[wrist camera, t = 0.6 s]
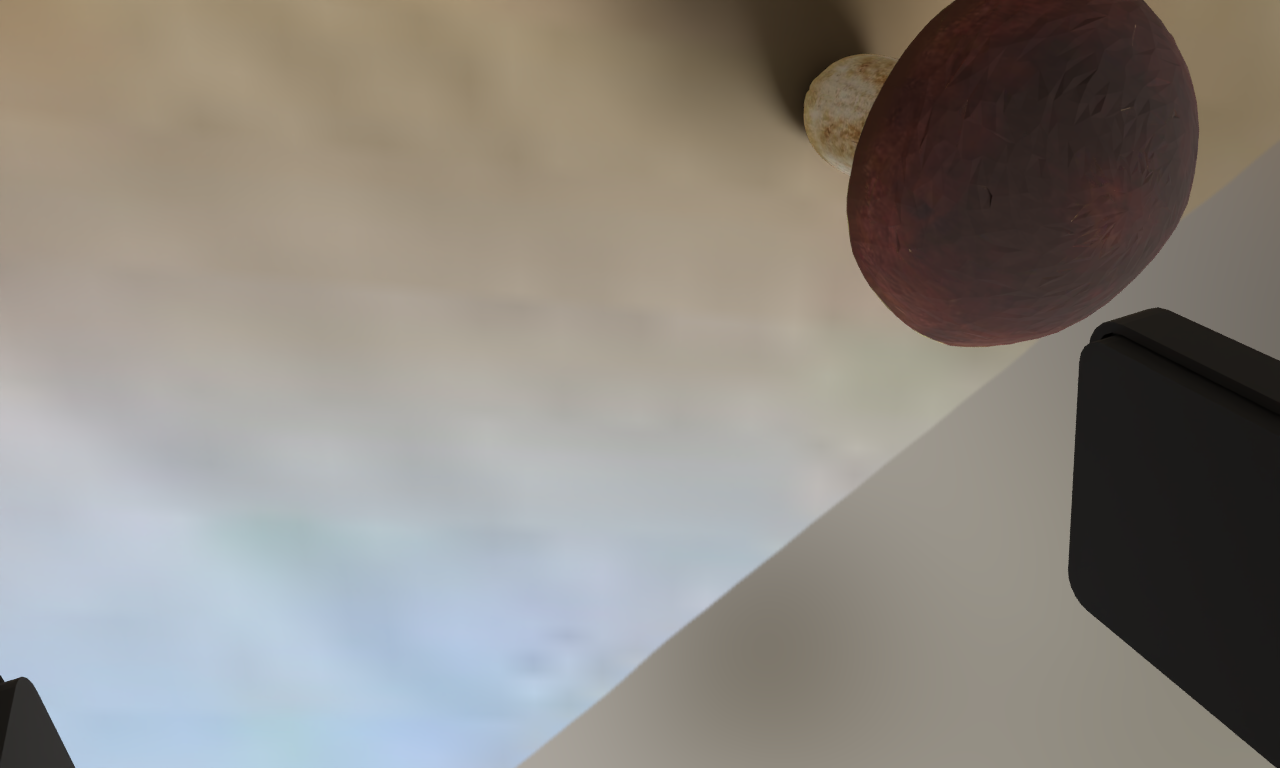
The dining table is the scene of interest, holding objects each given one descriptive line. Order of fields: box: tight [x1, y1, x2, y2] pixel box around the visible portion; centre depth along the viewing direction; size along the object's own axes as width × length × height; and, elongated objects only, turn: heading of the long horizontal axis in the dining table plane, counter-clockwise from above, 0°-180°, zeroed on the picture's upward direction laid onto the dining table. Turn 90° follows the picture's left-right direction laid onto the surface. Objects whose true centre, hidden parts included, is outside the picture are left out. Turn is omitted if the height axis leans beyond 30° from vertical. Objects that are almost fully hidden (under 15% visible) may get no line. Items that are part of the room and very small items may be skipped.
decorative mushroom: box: [804, 0, 1199, 347], centre depth 35 cm, size 11×11×15 cm
